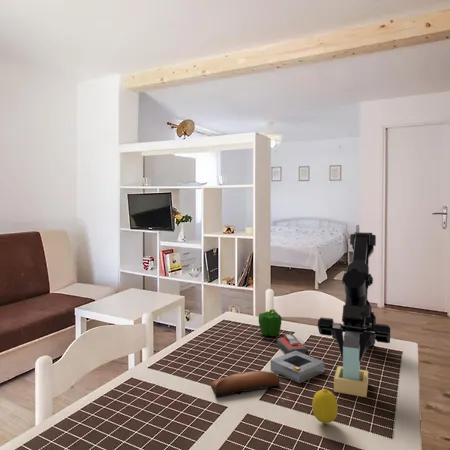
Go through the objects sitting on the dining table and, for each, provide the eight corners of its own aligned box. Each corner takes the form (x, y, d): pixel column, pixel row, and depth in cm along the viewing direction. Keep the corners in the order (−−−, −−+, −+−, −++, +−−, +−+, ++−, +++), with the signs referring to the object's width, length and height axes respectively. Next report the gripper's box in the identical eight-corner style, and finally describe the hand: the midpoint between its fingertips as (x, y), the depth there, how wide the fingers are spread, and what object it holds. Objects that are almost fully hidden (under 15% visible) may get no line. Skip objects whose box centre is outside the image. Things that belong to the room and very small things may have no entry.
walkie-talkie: (315, 358, 123) (291, 336, 143) (316, 344, 123) (291, 324, 142) (290, 360, 121) (269, 338, 141) (290, 347, 121) (269, 326, 141)
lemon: (308, 417, 89) (309, 384, 89) (332, 416, 90) (332, 382, 89) (316, 432, 84) (316, 396, 83) (341, 430, 84) (341, 394, 83)
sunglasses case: (267, 373, 112) (272, 358, 108) (276, 395, 106) (281, 380, 102) (207, 383, 106) (210, 368, 102) (213, 407, 100) (216, 392, 97)
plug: (344, 377, 106) (344, 330, 105) (359, 379, 104) (360, 332, 103) (342, 383, 102) (343, 335, 101) (358, 386, 100) (359, 337, 99)
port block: (295, 359, 121) (295, 349, 121) (324, 372, 112) (324, 360, 112) (270, 369, 114) (270, 358, 114) (299, 383, 106) (299, 371, 105)
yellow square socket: (337, 378, 108) (337, 366, 108) (367, 383, 105) (368, 370, 105) (333, 391, 101) (334, 378, 101) (366, 397, 98) (366, 383, 98)
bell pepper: (255, 331, 147) (255, 306, 146) (276, 329, 149) (276, 304, 148) (263, 339, 139) (263, 312, 138) (284, 337, 141) (284, 310, 140)
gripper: (318, 289, 109) (311, 341, 99) (390, 295, 101) (390, 351, 92) (323, 309, 116) (316, 359, 107) (390, 316, 109) (389, 370, 100)
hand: (351, 359), depth 101 cm, fingers closed on plug, 4 cm apart
